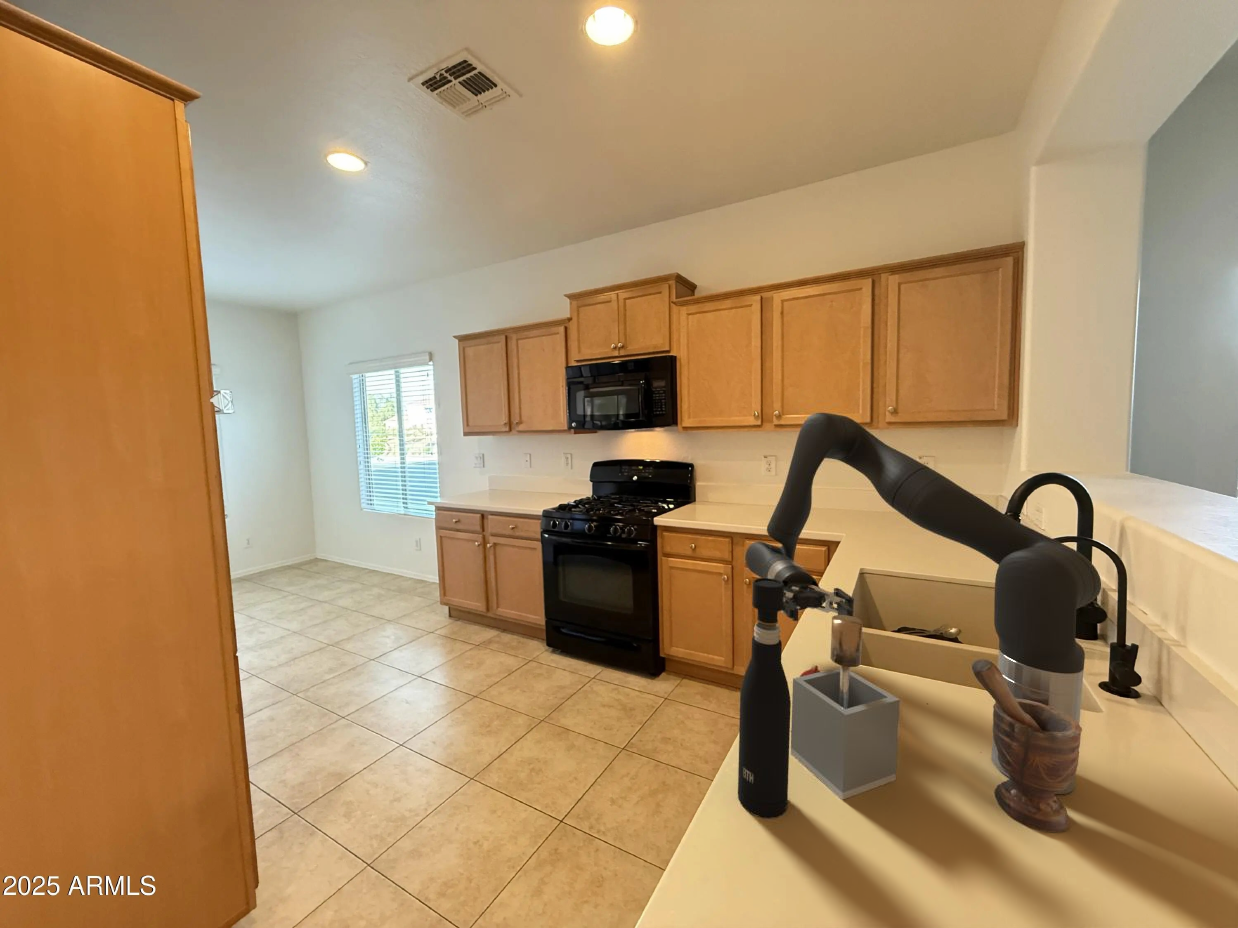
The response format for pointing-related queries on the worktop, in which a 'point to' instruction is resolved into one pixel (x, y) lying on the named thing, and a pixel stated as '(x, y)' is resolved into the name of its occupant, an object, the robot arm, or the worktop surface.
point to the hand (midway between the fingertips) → (822, 615)
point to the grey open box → (845, 732)
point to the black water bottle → (765, 711)
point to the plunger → (846, 650)
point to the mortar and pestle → (1030, 753)
